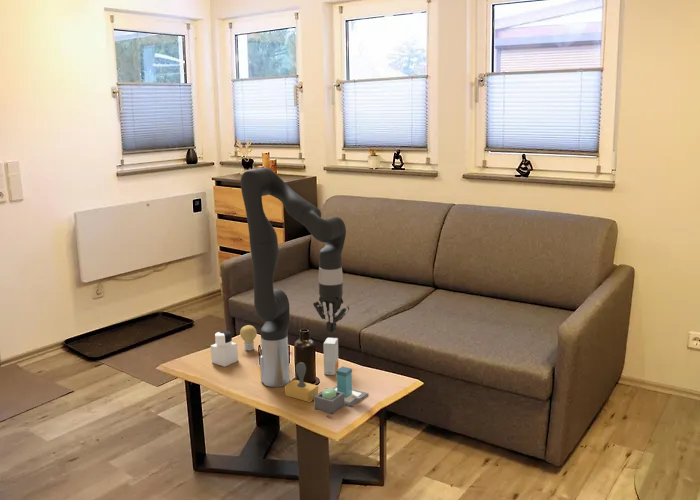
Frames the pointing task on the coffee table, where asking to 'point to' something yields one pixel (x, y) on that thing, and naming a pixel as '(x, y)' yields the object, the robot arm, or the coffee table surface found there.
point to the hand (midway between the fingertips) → (331, 332)
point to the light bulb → (248, 336)
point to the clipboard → (353, 397)
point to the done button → (329, 393)
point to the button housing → (329, 403)
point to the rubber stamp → (301, 386)
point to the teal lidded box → (344, 381)
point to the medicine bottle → (224, 349)
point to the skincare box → (330, 356)
